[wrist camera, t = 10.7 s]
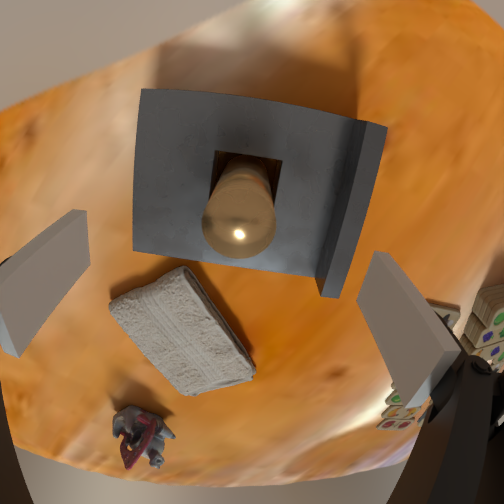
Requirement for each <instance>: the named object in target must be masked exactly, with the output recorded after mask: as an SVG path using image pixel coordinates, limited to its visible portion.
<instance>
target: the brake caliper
mask: <svg viewBox="0 0 504 504" xmlns="http://www.w3.org/2000/svg"><path fill="white" fill-rule="evenodd" d="M120 434H121V435H123V436H124V438H123V440H122V442H121V445H120V452H121V455H122V459H123V461H124V465H125V468H126V469H127V470H130V469H131V468H132V467H133V465H134V464H135V463H136V462H137V460H138V459H139V457H140V456H143V457H145V458H148V459H150V462H149V464H150V466H151V467H156V468H158V469H160V465H162V464H163V463H164V462H165V460H164V458H163V457H162V456H161V454H162V452H163V450H164V445H165V443H164V439H165V437H167V438H171V439H175V438H176V437H175V435H174V434H173V433H172V431H171V430H170V429H169V428H168V427H167V425H166V424H165V423H164V421H163V419H162V418H161V417H160V416H158V415H156V414H154V413H148V412H147V411H145V410H143V409H141V408H139V407H137V406H133V405H130V406H128V407H126V408H125V409H123V410H121V411H120V412H118V413H117V414H115V415H114V416H113V437H114V438H118V437H119V435H120ZM128 445H129V446H130V447H131V448H132V451H129V450H128V449H127V446H128ZM127 457H128V458H127Z"/></svg>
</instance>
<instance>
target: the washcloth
mask: <svg viewBox="0 0 504 504" xmlns="http://www.w3.org/2000/svg"><path fill="white" fill-rule="evenodd" d="M109 310H110V312H111V313H110V314H111V315H112V316H113V317H114V318H115V320H116V321H117V323H118V324H119V325H120V326H121V327H122V329H123V330H124V331H125V332H126V333H127V334H128V335H129V338H131V339H132V341H133V342H134V343H135V344H136V345H137V347H138V348H139V349H140V350H141V351H142V353H143V354H144V356H146V357H147V358H148V359H149V360H150V362H151V363H152V364H153V365H154V366H155V368H157V369H158V370H159V371H160V372H161V373H162V374H163V375H164V376H165V378H167V379H168V380H169V382H170V383H171V384H172V385H173V386H174V387H175V388H176V389H177V390H178V391H179V392H180V393H181V394H183V395H185V396H187V395H191V396H197V395H198V394H200V393H203V392H206V391H209V390H215V389H219V388H223V387H228V386H233V385H236V384H239V383H243V382H246V381H251V380H253V375H254V374H255V373H256V369H255V367H254V366H253V363H252V362H251V358H250V357H249V355H248V354H247V352H246V349H245V348H244V346H243V345H242V343H241V342H240V341H239V339H238V338H237V336H236V335H235V334H234V332H233V331H232V329H231V328H230V326H229V325H228V323H227V322H226V321H225V319H224V318H223V316H222V315H221V313H220V312H219V311H218V309H217V308H216V306H215V305H214V303H213V302H212V301H211V300H210V298H209V296H208V295H207V293H206V292H205V290H204V288H203V287H202V285H201V284H200V282H199V281H198V279H197V278H196V276H195V275H194V273H193V272H192V271H191V270H190V269H189V268H188V267H187V266H181V267H177V268H175V269H174V270H172V271H170V272H168V273H166V274H164V275H163V276H161V277H160V278H159V279H157V280H156V281H155V282H153V283H150V284H148V285H145V286H144V287H138V288H136V289H133V290H131V291H129V292H128V293H125V294H124V295H120V297H117V298H116V299H114V300H112V301H111V302H110V303H109Z"/></svg>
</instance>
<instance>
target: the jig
mask: <svg viewBox="0 0 504 504" xmlns="http://www.w3.org/2000/svg"><path fill="white" fill-rule="evenodd" d="M387 129H388V127H385V126H382V125H379V124H376V123H372V122H369V121H364V120H357V119H352V118H348V117H344V116H341V115H337V114H333V113H329V112H324V111H320V110H316V109H311V108H307V107H302V106H297V105H292V104H287V103H281V102H276V101H270V100H264V99H258V98H251V97H244V96H237V95H229V94H220V93H210V92H199V91H186V90H169V89H141V96H140V104H139V113H138V122H137V133H136V146H135V160H134V180H133V251H137V252H143V253H150V254H156V255H163V256H169V257H176V258H182V259H189V260H196V261H202V262H209V263H216V264H223V265H230V266H236V267H243V268H250V269H258V270H265V271H272V272H279V273H286V274H294V275H301V276H308V277H315V280H316V283H317V287H318V290H319V293H320V296H321V297H329V298H338V299H339V296H340V293H341V291H342V288H343V285H344V282H345V279H346V276H347V273H348V271H349V268H350V265H351V262H352V259H353V255H354V252H355V249H356V246H357V243H358V240H359V237H360V233H361V230H362V227H363V223H364V220H365V217H366V213H367V210H368V206H369V203H370V199H371V195H372V192H373V188H374V184H375V180H376V176H377V172H378V168H379V164H380V160H381V156H382V152H383V148H384V143H385V139H386V134H387ZM219 151H225V152H233V153H240V154H247V155H253V156H259V157H266V158H272V159H277V160H278V161H277V166H276V172H275V177H274V182H273V188H272V193H271V195H272V200H273V206H274V211H275V217H276V232H275V236H274V238H273V240H272V242H271V243H270V245H269V246H268V247H267V248H266V249H265V250H264V251H263V252H261V253H260V254H258V255H256V256H253V257H250V258H245V259H233V258H229V257H226V256H223V255H221V254H219V253H218V252H216V251H215V250H214V249H213V248H212V247H211V246H210V245H209V244H208V243H207V241H206V239H205V237H204V235H203V232H202V225H201V223H202V215H203V212H204V210H205V208H206V206H207V203H208V201H209V199H210V197H211V195H212V193H213V191H214V189H215V181H216V173H217V166H218V158H219Z"/></svg>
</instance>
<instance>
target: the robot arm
mask: <svg viewBox="0 0 504 504" xmlns="http://www.w3.org/2000/svg"><path fill="white" fill-rule="evenodd" d="M89 266H90V254H89V243H88V229H87V211H84V210H75V209H73V210H71V211H70V212H68V213H67V214H66V215H64V216H63V217H61V218H60V219H59V220H57V221H56V222H55V223H53V224H52V225H51V226H49V227H48V228H47V229H45V230H44V231H43V232H41V233H40V234H39V235H37V236H36V237H35V238H34V239H32V240H31V241H30V242H29V243H27V244H26V245H25V246H24V247H22V248H21V249H20V250H19V251H18V252H16V253H15V254H14V255H13V256H11V257H9V258H7V259H5V260H4V261H3V262H2V263H1V264H0V344H1V346H2V348H3V350H4V352H5V353H7V354H10V355H12V356H15V357H17V358H20V356H21V355H22V353H23V352H24V351H25V349H26V348H27V346H28V345H29V343H30V342H31V340H32V339H33V338H34V336H35V335H36V333H37V332H38V330H39V329H40V328H41V326H42V325H43V324H44V322H45V321H46V320H47V318H48V317H49V316H50V314H51V313H52V312H53V310H54V309H55V308H56V306H57V305H58V304H59V302H60V301H61V300H62V299H63V297H64V296H65V295H66V294H67V292H68V291H69V290H70V289H71V287H72V286H73V285H74V284H75V282H76V281H77V280H78V279H79V277H80V276H81V275H82V274H83V273H84V271H85V270H86V269H87V268H88V267H89ZM356 301H357V303H358V305H359V307H360V309H361V311H362V313H363V315H364V317H365V320H366V322H367V324H368V326H369V328H370V330H371V332H372V334H373V337H374V339H375V341H376V343H377V345H378V348H379V350H380V352H381V354H382V357H383V359H384V361H385V363H386V366H387V368H388V370H389V373H390V375H391V377H392V380H393V382H394V384H395V387H396V389H397V392H398V394H399V397H400V399H401V401H402V404H403V406H404V408H411V407H419V406H421V405H422V404H423V403H424V402H425V400H426V399H427V398H428V397H429V395H430V397H431V399H432V401H433V403H432V404H431V405H430V406H429V408H428V409H427V410H426V411H425V412H424V414H423V415H422V416H421V417H420V418H419V420H418V421H417V422H419V423H420V422H421V421H422V419H424V418H425V419H424V421H423V424H422V427H421V430H420V432H419V435H418V437H417V440H416V442H415V445H414V447H413V450H412V452H411V454H410V457H409V459H408V461H407V463H406V466H405V468H404V470H403V472H402V474H401V476H400V478H399V480H398V482H397V484H396V486H395V488H394V490H393V492H392V494H391V496H390V498H389V500H388V502H387V503H386V504H504V422H503V423H502V424H501V425H500V426H499V425H498V420H499V419H500V418H501V417H502V415H504V370H503V372H502V373H498V372H493V370H492V368H491V366H490V365H489V364H488V362H487V361H486V360H484V359H483V358H481V357H479V356H477V355H468V354H467V352H466V351H465V349H464V348H463V346H462V345H461V343H460V342H459V340H458V339H457V337H456V336H455V335H454V334H453V332H452V330H451V329H450V327H448V325H447V323H446V322H445V321H444V319H443V318H442V317H441V316H440V315H439V314H438V313H437V312H436V311H434V310H433V309H432V308H431V306H430V305H429V304H428V302H427V301H426V300H425V298H424V297H423V296H422V294H421V293H420V292H419V291H418V289H417V288H416V287H415V285H414V284H413V283H412V282H411V280H410V279H409V278H408V276H407V275H406V274H405V273H404V271H403V270H402V269H401V268H400V267H399V265H398V264H397V263H396V262H395V260H394V259H393V258H392V257H391V256H390V254H389V253H385V252H379V251H374V254H373V257H372V259H371V262H370V265H369V268H368V271H367V274H366V276H365V279H364V282H363V284H362V287H361V290H360V292H359V295H358V297H357V300H356ZM0 504H34V503H33V501H32V498H31V496H30V493H29V491H28V488H27V485H26V483H25V480H24V477H23V474H22V471H21V468H20V465H19V462H18V459H17V455H16V452H15V449H14V445H13V441H12V437H11V434H10V429H9V425H8V421H7V416H6V411H5V406H4V401H3V395H2V389H1V382H0Z"/></svg>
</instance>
